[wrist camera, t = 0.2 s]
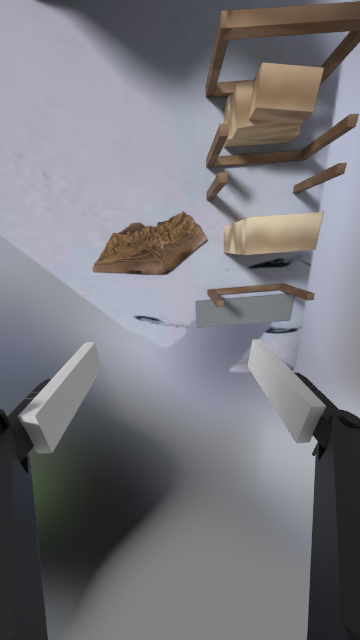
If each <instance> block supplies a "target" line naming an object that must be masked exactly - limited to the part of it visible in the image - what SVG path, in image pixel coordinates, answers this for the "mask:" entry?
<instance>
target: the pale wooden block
mask: <svg viewBox="0 0 360 640" xmlns="http://www.w3.org/2000/svg"><path fill="white" fill-rule="evenodd" d="M323 213H324V212H315V213H302V214H289V215H277V216H264V217H251V218H246V219H243V220H240V221H238V222H235V223H233V224H230V225H227V226H225V227H224V253H231V254H240V255H252V254H265V253H277V252H290V251H302V250H315V249H316V245H317V240H318V236H319V231H320V226H321V222H322V218H323Z"/></svg>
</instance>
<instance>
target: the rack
mask: <svg viewBox="0 0 360 640" xmlns="http://www.w3.org/2000/svg"><path fill="white" fill-rule="evenodd" d="M345 31H350V32H349V33H348V35H347V36H346V37H345V38H344V40H343V41H342V42H341V43H340V44H339V46H338V47H337V48H336V49H335V50H334V52H333V53H332V54H331V55H330V57H329V58H328V59H327V60H326V61H325V63H324V64H323V65H322V66H321V68H324V70H323V74H322V78H321V82H320V85H321V84H322V83H323V82H324V81H325V79H326V78H327V77H328V76H329V75H330V74H331V73H332V72H333V71H334V70H335V68H336V67H337V66H338V65H339V64H340V63H341V62H342V61H343V60H344V59H345V58H346V56H347V55H348V54H349V53H350V52H351V51H352V50H353V49H354V48H355V47H356V46H357V44H358V43H359V42H360V1H358V2H344V3H329V4H314V5H299V6H284V7H270V8H255V9H240V10H225V11H221V16H220V20H219V25H218V30H217V35H216V40H215V44H214V49H213V54H212V59H211V64H210V69H209V73H208V78H207V83H206V97H217V96H229V95H232V94H233V92H234V89H235V87H236V84H238V83H243V82H248V81H253V80H246V81H232V82H218V83H217V81H218V77H219V73H220V70H221V66H222V62H223V59H224V55H225V51H226V48H227V44H228V40H229V39H243V38H258V37H272V36H287V35H301V34H316V33H330V32H345ZM358 115H359V114H350V115H348V116H347V117H346V118H344V119H343V120H342V121H340V122H339V123H338V124H336V125H335V126H334V127H332V128H331V129H330V130H328V131H327V132H326V133H324V134H323V135H322V136H320V137H319V138H317V139H316V140H315V141H313V142H312V143H311V144H309V145H308V146H307V147H305V148H304V149H303V150H298V151H285V152H271V153H258V154H244V155H231V156H219V154H220V152H221V150H222V148H223V146H224V144H225V142H226V140H227V138H228V136H229V123H226V124H220V125H219V127H218V130H217V133H216V135H215V138H214V140H213V143H212V146H211V148H210V151H209V153H208V156H207V159H206V167H217V166H230V165H244V164H257V163H270V162H284V161H297V160H305V159H307V158H308V157H310V156H311V155H313V154H314V153H316V152H317V151H319V150H320V149H322V148H324V147H325V146H327V145H328V144H330V143H331V142H333V141H334V140H336V139H337V138H339V137H340V136H342V135H343V134H345V133H346V132H348V131H349V130H351V129H352V128H354V127H355V126H356V123H357V119H358ZM346 164H347V163H339V164H336V165H334V166H332V167H330V168H328V169H326V170H324V171H322V172H320V173H318V174H316V175H314V176H312V177H310V178H308V179H306V180H304V181H302V182H301V183H299V184H297V185H295V186H294V190H293V193H300V192H302V191H304V190H307V189H309V188H311V187H314V186H316V185H318V184H321V183H323V182H325V181H327V180H330V179H332V178H334V177H337V176H339V175H341V174H344V172H345V168H346ZM227 176H228V172H219V173H218V175H217V177H216V178H215V180H214V181H213V183H212V185H211V186H210V188H209V189H208V191H207V200H210V199H214V197H215V196H216V195H217V194H218V193H219V191H220V190H221V189H222V188H223V187H224V186H225V184H226V183H227ZM279 289H280V290H282V291H285V292H287V293H290V294H292V295H295V296H297V297H300V298H302V299H305V300H313V299H314V295H315V294H314V293H311V292H308V291H305V290H302V289H299V288H296V287H293V286H290V285H287V284H284V283H283V284H271V285H259V286H246V287H234V288H222V289H209V290H208V296H209V297H210V299H211V300H212V301H213V303H214V304H215V305H216V307H217V308H220V307H224V301H223V300H222V299H221V298H220V297H219V295H218V294H230V293H242V292H254V291H267V290H279Z"/></svg>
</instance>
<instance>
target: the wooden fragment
mask: <svg viewBox="0 0 360 640" xmlns="http://www.w3.org/2000/svg"><path fill="white" fill-rule="evenodd" d="M206 240H207V238H206V236H205V235H204V233H203V231H202V229H201V227H200V226H199V225H198V224H196V223H195V222H194V220H193V219H192V217H191V216H190V215H186V214H185V212H184V211H182V213H180V214H178V215H177V216H174V217H172V218H170V219H169V221H164V222H158V225H157V227H152V226H149V227H145V226H144V225H142V224H141V223H134V224H131V225H130V226H129V227H127V228H126V229H125V230H123V231H122V232H119V233H118V234H116V233H113V234H112V236H111V238H110V240H109V242H108V243H107V244H106V246H105V249H104V250H103V252H102V254H101V256H100V257H99V259H98V260H97V261H96V262H95V263H94V266H93V272H109V273H137V274H164V273H165V274H167V273H168V272H169V271H170V270H172V269H173V268H174V267H175V266H176V265H177V264H179V263H180V262H181V261H182V260H183V259H184V258H186V257H187V256H188V255H189V254H190V253H192V252H193V251H194V250H195V249H196V248H198V247H199V246H200V245H201V244H202V243H203V242H205V241H206ZM164 271H165V272H164Z"/></svg>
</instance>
